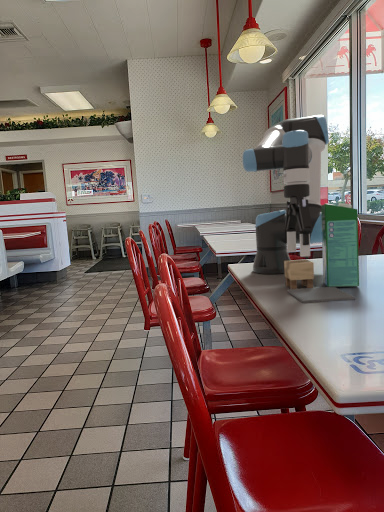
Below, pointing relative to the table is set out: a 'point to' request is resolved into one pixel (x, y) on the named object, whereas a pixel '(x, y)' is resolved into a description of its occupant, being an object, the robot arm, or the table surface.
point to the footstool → (299, 273)
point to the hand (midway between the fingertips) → (298, 253)
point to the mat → (320, 294)
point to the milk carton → (340, 245)
